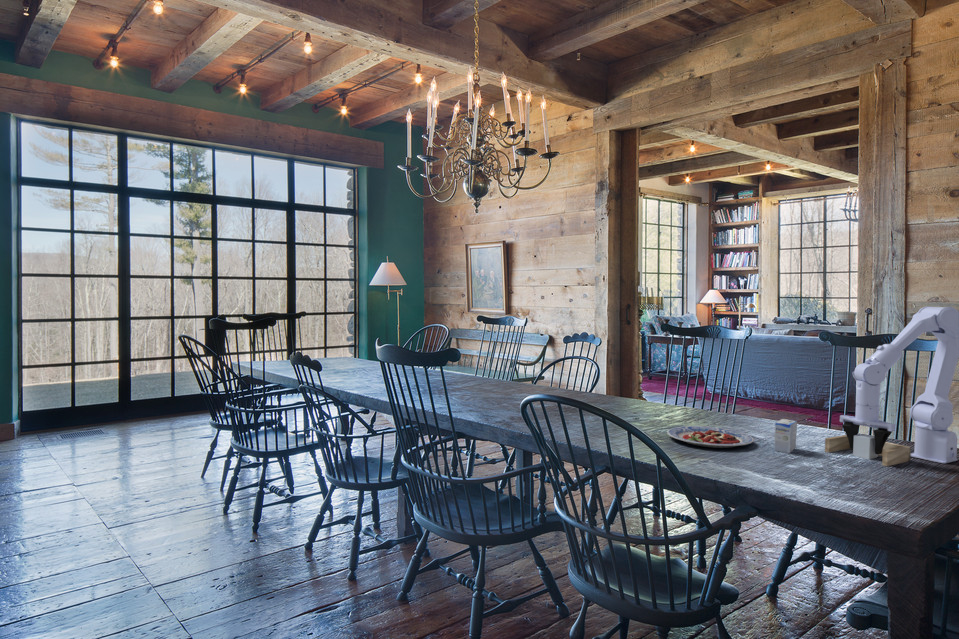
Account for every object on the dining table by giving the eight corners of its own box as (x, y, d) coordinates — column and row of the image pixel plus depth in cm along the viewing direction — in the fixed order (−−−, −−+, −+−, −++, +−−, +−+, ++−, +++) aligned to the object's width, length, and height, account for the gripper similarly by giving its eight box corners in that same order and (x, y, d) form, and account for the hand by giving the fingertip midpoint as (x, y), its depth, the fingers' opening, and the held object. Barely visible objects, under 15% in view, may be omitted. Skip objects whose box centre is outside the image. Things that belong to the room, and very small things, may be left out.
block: (877, 457, 177) (878, 437, 177) (869, 459, 175) (869, 438, 174) (861, 453, 181) (862, 433, 181) (853, 455, 179) (853, 435, 178)
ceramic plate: (718, 431, 210) (718, 422, 210) (772, 449, 185) (772, 439, 185) (651, 434, 203) (652, 425, 203) (698, 454, 178) (698, 444, 178)
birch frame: (910, 460, 173) (910, 447, 173) (886, 466, 167) (887, 451, 167) (848, 447, 189) (848, 434, 188) (824, 451, 183) (825, 438, 182)
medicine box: (780, 446, 189) (781, 418, 188) (796, 448, 186) (797, 420, 186) (773, 451, 183) (774, 422, 182) (790, 453, 180) (791, 424, 179)
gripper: (834, 401, 182) (832, 446, 182) (886, 410, 169) (884, 458, 169) (848, 400, 185) (846, 444, 185) (900, 408, 172) (898, 455, 173)
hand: (865, 450), depth 178 cm, fingers open, 6 cm apart
